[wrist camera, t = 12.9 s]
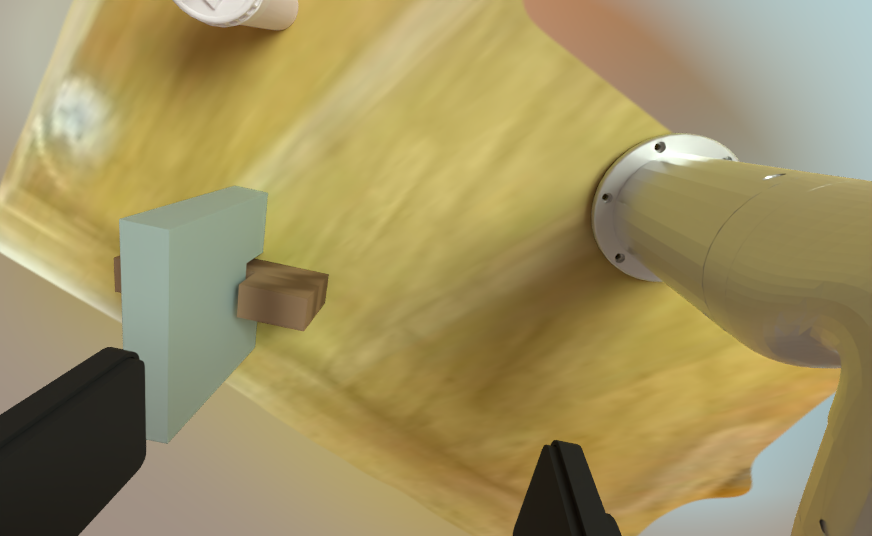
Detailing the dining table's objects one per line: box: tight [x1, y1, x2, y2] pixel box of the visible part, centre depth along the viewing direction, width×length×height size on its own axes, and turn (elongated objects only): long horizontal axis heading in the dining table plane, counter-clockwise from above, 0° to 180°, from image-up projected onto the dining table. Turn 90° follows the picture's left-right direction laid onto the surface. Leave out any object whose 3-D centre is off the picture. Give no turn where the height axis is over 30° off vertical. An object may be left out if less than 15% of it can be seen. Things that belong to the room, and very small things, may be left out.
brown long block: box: [114, 256, 329, 331], centre depth 39 cm, size 16×3×6 cm, turn 78°
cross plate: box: [119, 186, 268, 444], centre depth 35 cm, size 16×3×14 cm, turn 168°
